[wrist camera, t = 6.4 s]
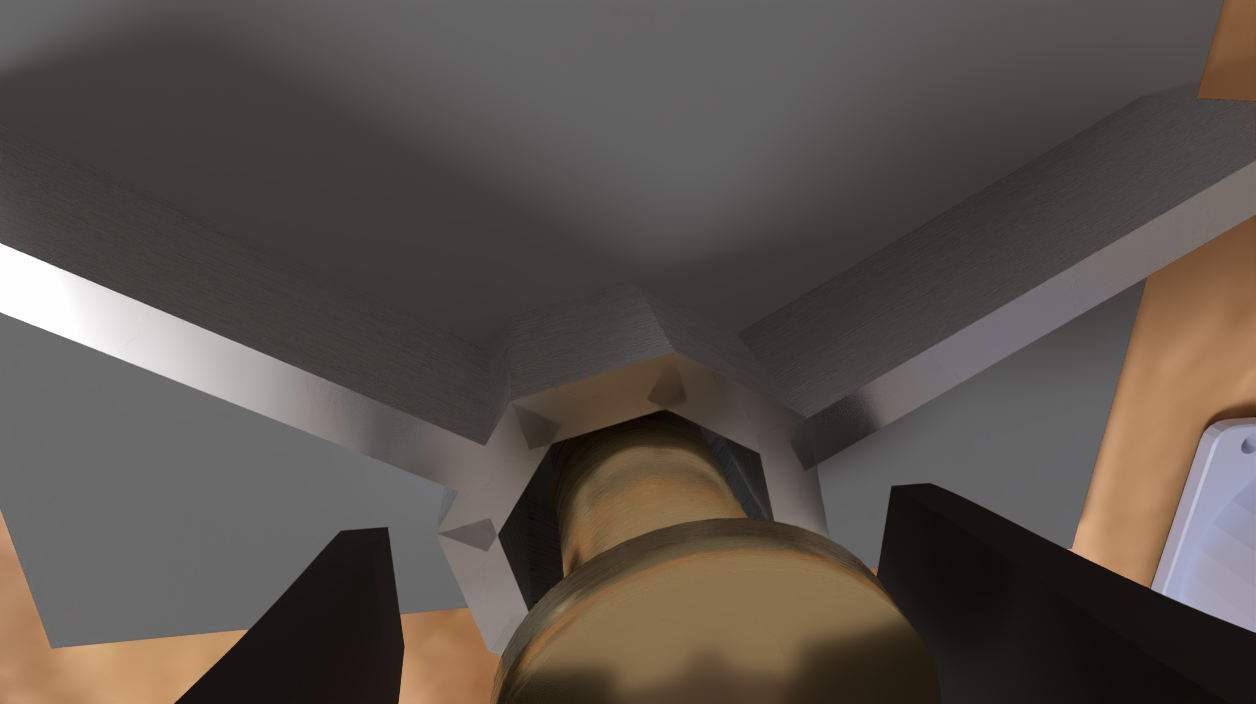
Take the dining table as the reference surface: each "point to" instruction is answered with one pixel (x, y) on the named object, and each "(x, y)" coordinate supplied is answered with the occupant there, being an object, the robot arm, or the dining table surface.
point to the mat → (533, 241)
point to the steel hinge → (617, 329)
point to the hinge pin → (698, 592)
